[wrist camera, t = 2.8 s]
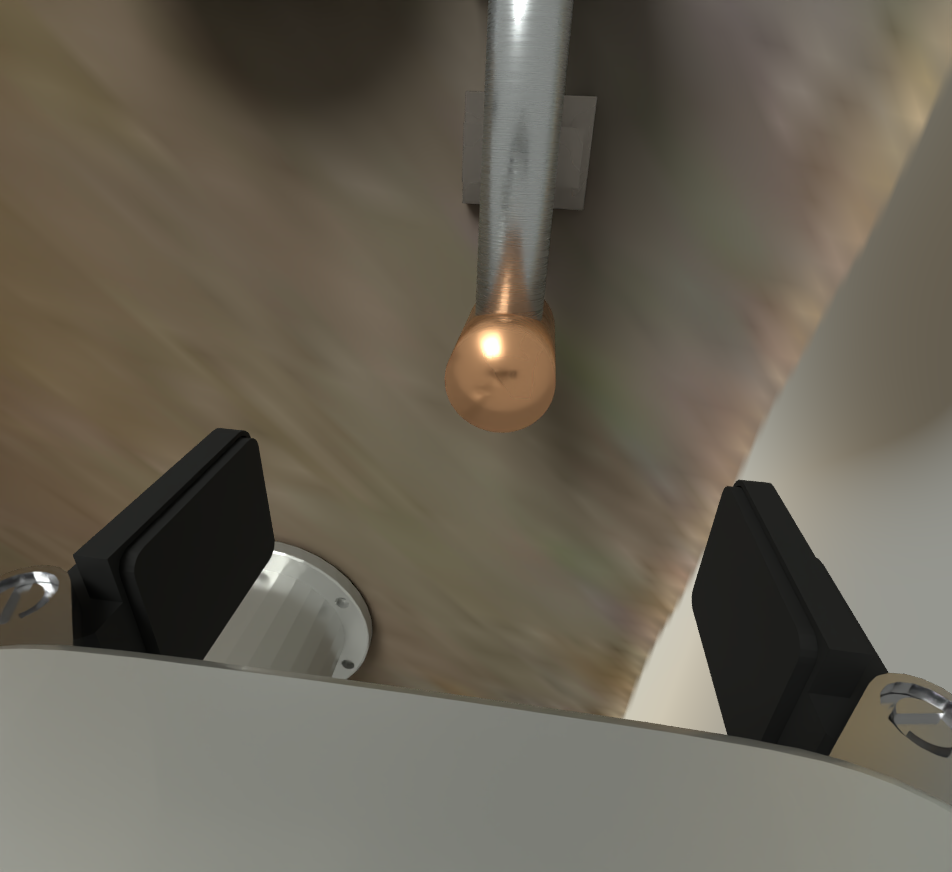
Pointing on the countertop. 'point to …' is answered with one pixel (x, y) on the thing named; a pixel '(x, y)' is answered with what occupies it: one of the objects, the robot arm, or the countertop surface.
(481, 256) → the hook rod
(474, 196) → the cradle
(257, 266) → the countertop surface
